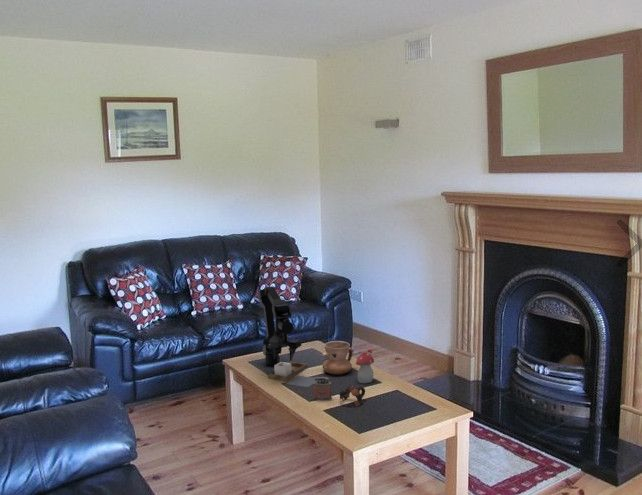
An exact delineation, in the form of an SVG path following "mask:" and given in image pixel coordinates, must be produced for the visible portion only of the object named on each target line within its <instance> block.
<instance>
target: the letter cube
mask: <svg viewBox="0 0 642 495" xmlns="http://www.w3.org/2000/svg"><path fill="white" fill-rule="evenodd" d="M273 368H274V371H275V375H279V376H286V377H287V376H288V375H290V374H291V373H292V369H291V363H287V362H284V361H280V362H279V363H278V364H276V365H274V367H273Z"/></svg>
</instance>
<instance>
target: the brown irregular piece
mask: <svg viewBox="0 0 642 495" xmlns="http://www.w3.org/2000/svg"><path fill="white" fill-rule="evenodd" d="M350 393H351V395H352V396H353V397H355V398H356V400H355V401H354V406H355V407H356V408H357V407H359V406H361V405H362V404H363V397H364V396H365V395H366V388H365V387H363V386H359V387H356V388H355V387H354V385H351V386H349V387H347V388H345V389H344V390H341V391H340V392H339V393H338V395H339V400H342V401H344V400H345V401H346V400H347V399H348V398H350Z"/></svg>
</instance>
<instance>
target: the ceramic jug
mask: <svg viewBox="0 0 642 495" xmlns="http://www.w3.org/2000/svg"><path fill="white" fill-rule="evenodd" d="M350 346H351V345H350V343H349V342H347V341H342V340H331V341H328V342H325V344H324V350H325V351H324V352H323V353H322V354H321V355H322V357H325V356H327V358H328V359H326V360H325V361H323V364H322V369H323V371H324V372H326V373H327V374H330V375H336V376H337V375H343V374H344V375H345V374H347V373H349V372H350V371H351V370H352V369H353V368H352V367H353V365H352V363H351V360H352V357H353V354H354V352H353V349H352V347H350ZM347 355H348V356H347Z"/></svg>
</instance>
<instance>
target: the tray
mask: <svg viewBox="0 0 642 495" xmlns="http://www.w3.org/2000/svg"><path fill="white" fill-rule="evenodd" d="M286 363H291V369H292V373H291V374H290V375H288V376H287V377H286V376H279V375H275V370H272V371H271V372H270V373H268V374H267V378H268V380H269V379H270V380H275V381H281V382H289V381H290V380H292V379H293V378H295V377H296V376H298V375H299V374H301V373H302V372H303V371H306V369H307V370H308V363H303V362H302V363H301V362H294V361H287V362H286Z"/></svg>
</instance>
